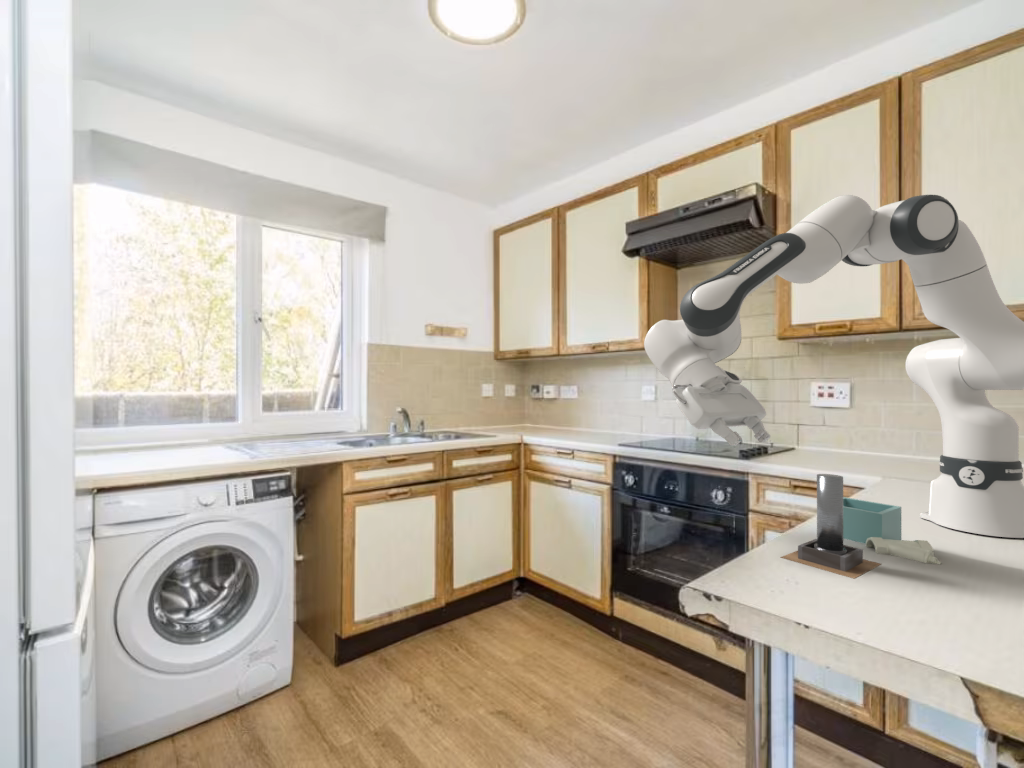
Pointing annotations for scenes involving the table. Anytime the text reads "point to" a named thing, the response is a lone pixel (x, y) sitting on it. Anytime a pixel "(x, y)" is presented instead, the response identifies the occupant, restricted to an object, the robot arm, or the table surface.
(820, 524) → the strut
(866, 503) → the bin
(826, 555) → the mount plate
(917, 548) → the pipe fitting
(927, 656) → the table surface
